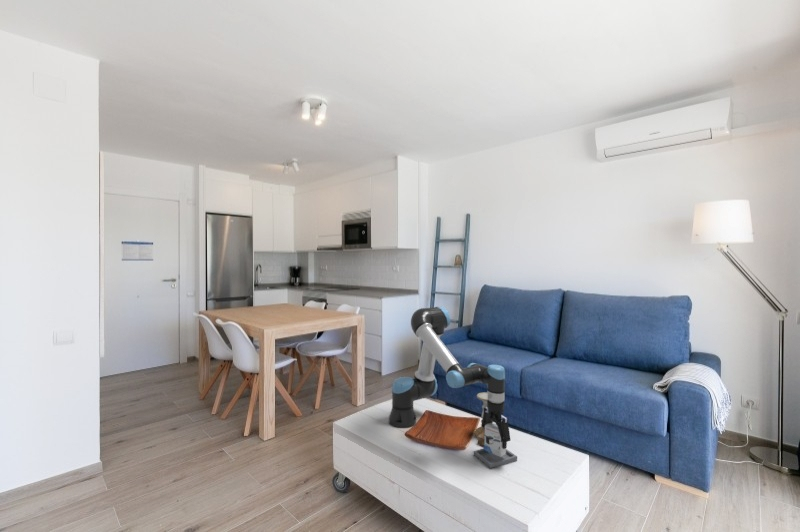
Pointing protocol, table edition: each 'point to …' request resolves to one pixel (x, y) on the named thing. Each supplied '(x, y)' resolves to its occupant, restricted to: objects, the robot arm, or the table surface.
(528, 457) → the table surface
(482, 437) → the walnut block
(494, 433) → the ink box
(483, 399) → the candle holder
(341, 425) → the table surface
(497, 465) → the tray
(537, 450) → the table surface
